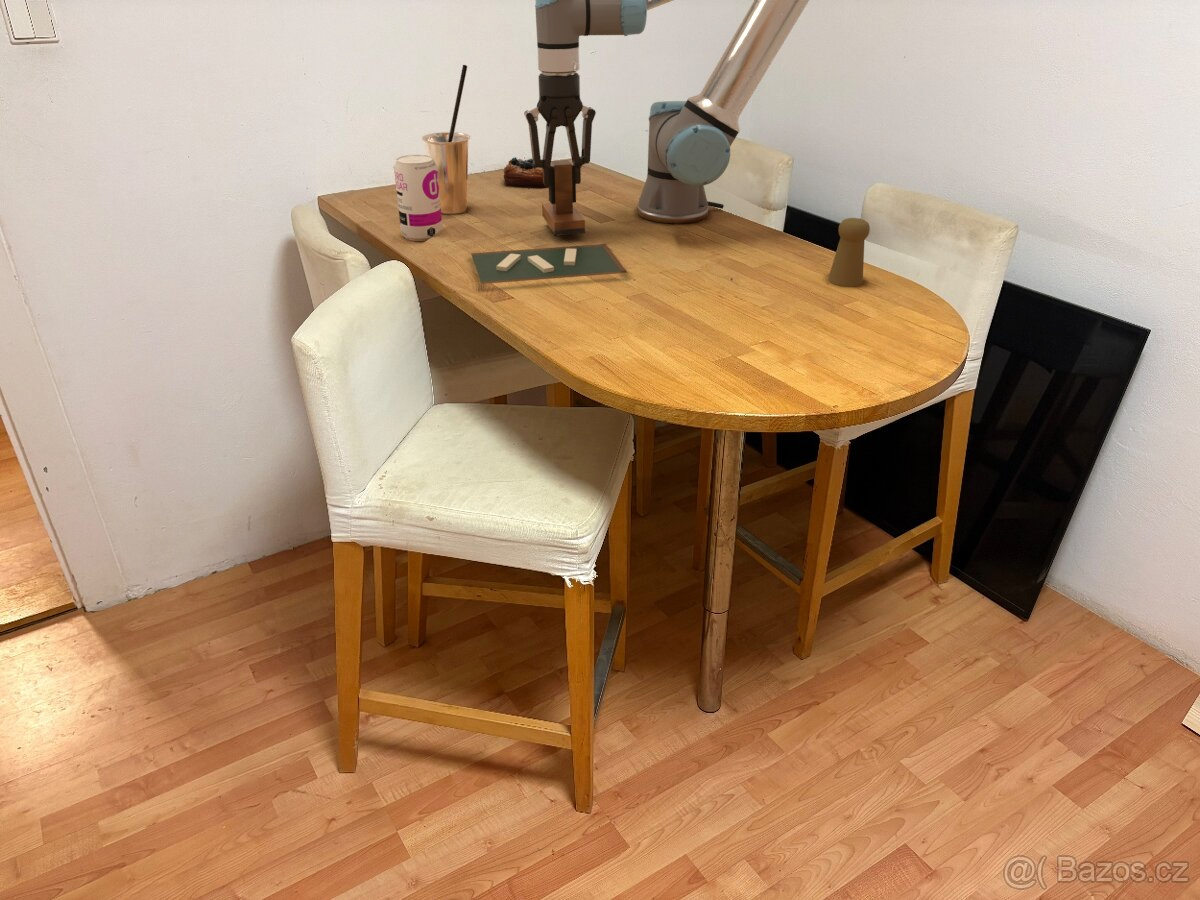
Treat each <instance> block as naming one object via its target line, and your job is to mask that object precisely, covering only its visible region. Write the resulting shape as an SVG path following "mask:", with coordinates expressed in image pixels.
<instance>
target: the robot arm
mask: <svg viewBox="0 0 1200 900" xmlns="http://www.w3.org/2000/svg"><path fill="white" fill-rule="evenodd" d="M672 1H674V0H535V4H534V7H535V9H534V10H535V24H536V25H535V26H536V44H537V45H536V46H537V70H538V71H539V72H540V73H539V75H538V77H537V78H538V101H537V103H536V107H534V108H532V109H531V110H525V111H524V112H523V113H524V114H523V115H524V117H525V120H526V121H527V123H528V131H529V141H530V149H531V159H532V160H533V163H534V164H535V166H537V167H541V168H542V169H543V183H544V185H545V186H548V201H549V203H551V204H555V177H554V169H553V168H552V166H551V161H552V158H553V151H554V143H555V136H556V132H557V128H560V127H565V130H566V131H565V132H566V136H567V141H568V146H569V151H570V157H571V164H572V192H573V204H574V203H577V185H580V184H581V181H582V179H581V178H582V175H581V174H582V173H581V172H582V170H581V168H582V166H584V165H586V164H589V163H590V162H591V151H592V132H593V122H594V120H595V117H596V115H597V112H596V110H595V109H594V108H593V107H591V106H586V105H584V104H583V102H582V99H581V81H580V78H581V77H580V74H579V73H578V71H579V70H580V37H581V36H582V37H588V36H624V37H627V36H631V35H633V36H634V35H640V34H642V33H643V32H644V31H645V28H646V25H647V16H648V11H649V10H652V9H655V8H658V7H660V6H663V5H666V4H668V3H670V2H672ZM809 2H810V0H753V2H752V3H751V5H750V7H749V8H748V10H747V12H746V13H745V15H744V17H743V18H742V21H741V23H740V24H739V26H738V27H737V29H736V31H735V33H734V34H733V36H732V38H731V40H730V41H729V43H728V45H727V46H726V49H725V50H724V52H723V54H722V55H721V57H720V59H719V61H718V62H717V63H716V65H715V67H714V69H713V71H712V72H711V75H710V76H709V77H708V79H707V81H706V83H705V84H704V87H703V88H702V89H701V92H700V93H699V94H697V95H694V96H693V95H692V96H690V97H688V98H687V100H667V101H666V100H665V101H664V100H663V101H655V102H653V103H652V104H651V106H650V109H649V116H648V144H647V145H648V148H647V149H648V150H647V152H648V153H647V175H646V179H645V182H644V185H643V188H642V190H641V193H640V197H639V199H638V202H637V214H638V215H639V217H641V218H643V219H645V220H648V221H652V222H657V223H662V224H663V223H664V224H689V223H696V222H699V221H702V220H704V219H705V218H707V217H708V215H709V207H712V208H716V209H721V210H722V209H724V207H725V205H724V204H723V203H719V202H713V201H708V198H707V194H706V190H705V186H707V185H710V184H712V183H713V182H715V181H717V180H718V179H719V178H720V177H721V176H722V175H723V174H724V173H725V172H726V170H727V168H728V166H729V164H730V160H731V147H732V145H733V143H734V141H735V139H736V138H737V136H738V135H739V133H740V131H741V129H740V123H739V118H740V116H741V114H742V112H743V111H744V109H745V108H746V106H747V104H749V103H748V102H749V101H750V100H751V98H752V96H753V95H754V93H755V91H756V89H757V87H758V86H759V85H760V83H761V81H762V80H763V78H764V76H765V75H766V73H767V71H768V70H769V68H770V66H771V65H772V63H773V61H774V60H775V58H776V57H777V55H778V53H779V51H780V49H781V48H782V46H783V45H784V43H785V41H786V40H787V38H788V36H789V35H790V33H791V31H792V30H793V29H794V27H795V25H796V23H797V21H798V20H799V19H800V17H801V15H802V13H803V11H804V10H805V8H806V7H807V5H808V4H809ZM580 113H581V117H582V132H581V133H582V135H581V137H582V138H581V152H580V151H579V145H578V141H577V134H576V127H575V121H576V119H577V118H578V117H579V115H580ZM539 115H540V116H541V117H542V118H543V119H544V121H545V122H546V124H545V137H544V144H543V151H542V157H541V149H540V141H539V130H538V124H537V122H538V121H539ZM580 153H581V154H580ZM541 158H542V159H541Z"/></svg>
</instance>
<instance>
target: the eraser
mask: <svg viewBox="0 0 1200 900" xmlns="http://www.w3.org/2000/svg"><path fill="white" fill-rule="evenodd" d="M572 165H573V163H572V162H571V161H570V160H569V159H564V160H563V159H562V160H561V159H560V160H551V166H552V168H553V169H554V177H555V204H551V203H550V202H543V203H541V210H542V212H541V214H542V217H543V219H544V221H545V222H546V224H547V226H548V227H549V228H550V230H551V232H552V234H553V235H554V236H567V235H579V234H585V233H586V221H585V218H584V216H583V215H582V214H581V213H580V211H578V209H577V208H576V206H575V205H574V203H573V192H572Z"/></svg>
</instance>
